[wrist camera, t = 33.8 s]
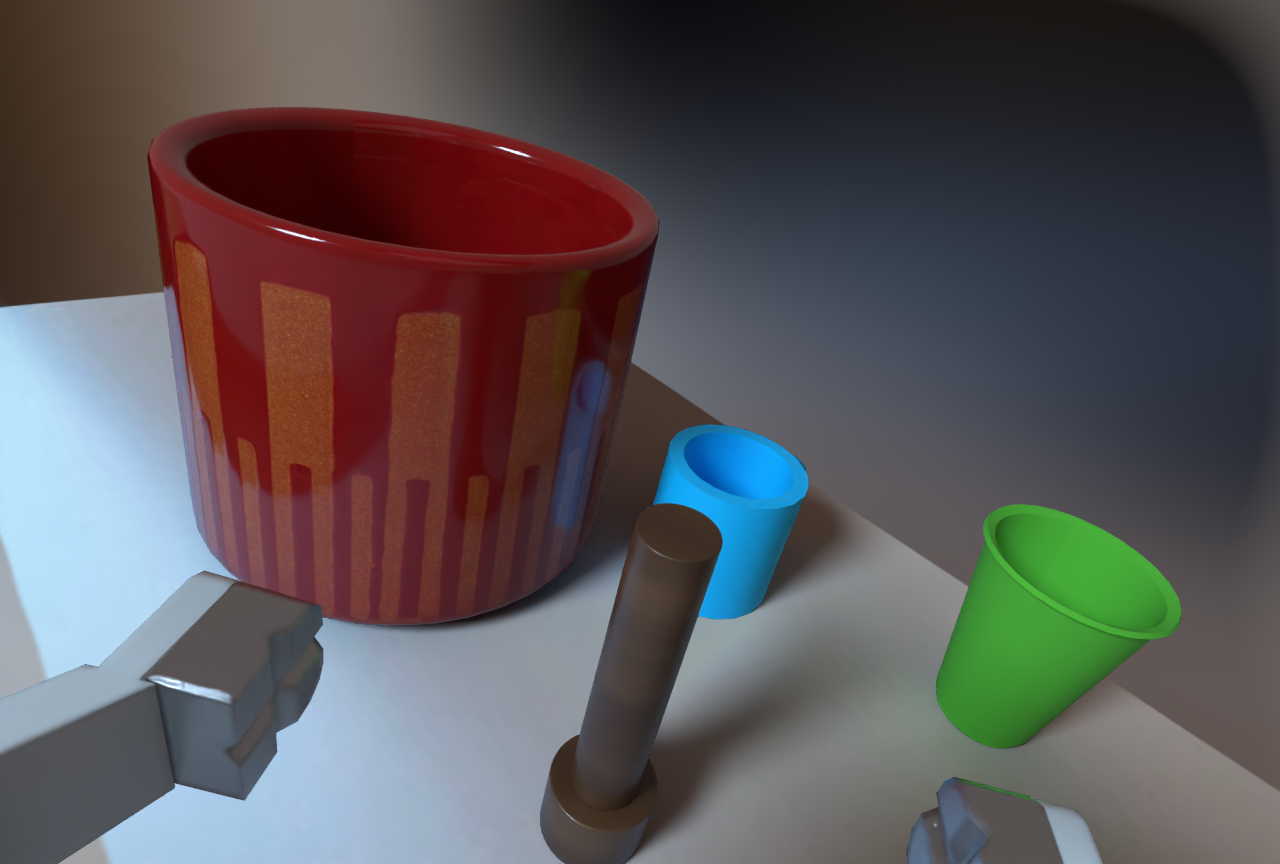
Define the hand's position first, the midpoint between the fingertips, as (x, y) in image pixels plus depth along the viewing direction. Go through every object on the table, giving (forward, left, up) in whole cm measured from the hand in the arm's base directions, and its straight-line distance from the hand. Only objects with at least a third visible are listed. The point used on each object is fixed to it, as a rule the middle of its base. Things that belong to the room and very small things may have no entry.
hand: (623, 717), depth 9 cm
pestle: (+12, -1, -22) cm, 25 cm away
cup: (+24, -21, -22) cm, 39 cm away
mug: (+31, -6, -22) cm, 39 cm away
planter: (+29, +14, -22) cm, 39 cm away
